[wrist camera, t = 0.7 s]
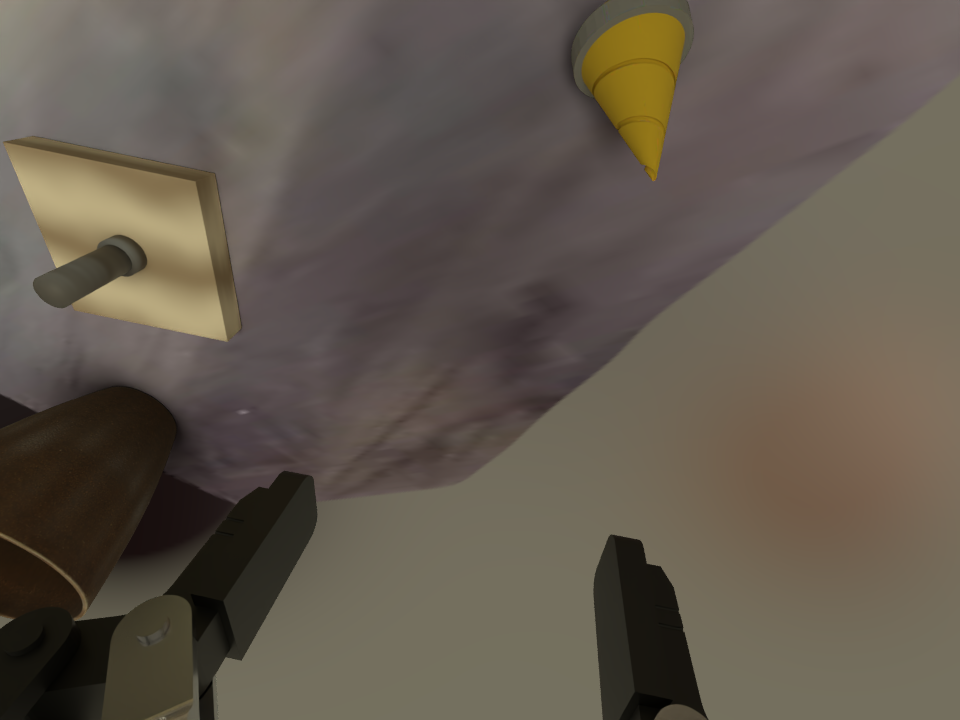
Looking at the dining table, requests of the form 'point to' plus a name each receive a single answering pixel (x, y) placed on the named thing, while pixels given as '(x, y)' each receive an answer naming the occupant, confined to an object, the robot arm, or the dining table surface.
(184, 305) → the post block
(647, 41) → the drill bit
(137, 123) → the dining table surface
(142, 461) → the plant pot
